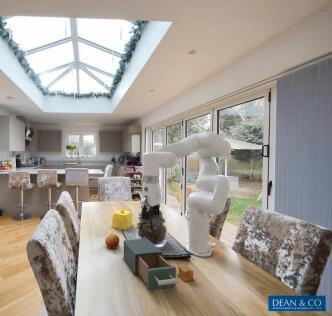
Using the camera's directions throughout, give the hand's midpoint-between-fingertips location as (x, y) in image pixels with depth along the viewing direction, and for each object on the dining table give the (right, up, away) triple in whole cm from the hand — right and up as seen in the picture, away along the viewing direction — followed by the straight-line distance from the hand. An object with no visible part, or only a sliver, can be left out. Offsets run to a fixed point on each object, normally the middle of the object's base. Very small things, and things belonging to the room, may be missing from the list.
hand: (150, 217), depth 93 cm
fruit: (-16, -23, +22) cm, 36 cm away
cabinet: (-4, -23, +3) cm, 24 cm away
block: (+13, -24, -7) cm, 28 cm away
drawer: (-1, -23, -11) cm, 25 cm away
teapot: (-6, -23, +55) cm, 59 cm away
